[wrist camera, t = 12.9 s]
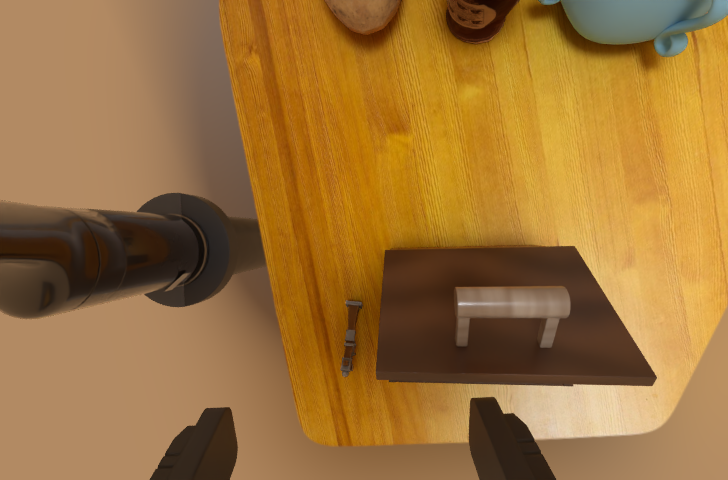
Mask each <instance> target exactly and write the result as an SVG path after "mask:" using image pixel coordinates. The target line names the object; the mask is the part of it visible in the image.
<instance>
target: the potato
mask: <svg viewBox="0 0 728 480" xmlns="http://www.w3.org/2000/svg"><path fill="white" fill-rule="evenodd" d="M325 2H326V3H327V5H328V6H329V8H330V9H331V10H332V12H333V13H334V15H335V16H336V17H337V18H338V19H339V20H340V21H341V22H342V23H343V24H344V25H345V26H346V27H348V28H349V29H350V30H351V31H353V32H357V33H360V34H364V35H368V34H371V33H374V32H376V31H379V30H382V29H384V27H385V26H386V25H387V24H388V23H389V21H390V20H391V19H392V18H393V17H394V15H395V14H396V13H397V10H398V7H399V5H400V2H401V0H325Z"/></svg>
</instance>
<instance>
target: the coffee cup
mask: <svg viewBox="0 0 728 480" xmlns="http://www.w3.org/2000/svg"><path fill="white" fill-rule="evenodd" d="M519 1H520V0H447V4H448V8H447V11H446V19H447V24H448V26H449V28H450V30H451V32H452V33H453V34H454V35H455V36H456V37H457V38H459V39H461V40H463V41H465V42H469V43H475V44H478V43H482V42H488V41H490V40H491V39H492V38H493V37H494V36H495V35H496V34H498V33H499V32H500V30H501V28H502V27H503V25H504V22H505V18H506V15H507V14H508V13H509V12H510V11H511V10H512V9H513V7H514V6H515V5H516V4H517V3H518V2H519Z"/></svg>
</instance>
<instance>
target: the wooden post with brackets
mask: <svg viewBox="0 0 728 480" xmlns="http://www.w3.org/2000/svg"><path fill="white" fill-rule="evenodd" d="M346 306H347V307H348V310H349V314H348V330H346V338H345V341H346V343H345V344H344V346H345V353H344V358H343V357H342V366H341V371H343V372H342V375H343V376H344V377H347V376H348V375H349V372H350V371H353V364H352V359H353V358H351V357H352V356H353V355H356V353H355V347H356V344H354V343H355V333H356V331H355V325H356V320H357V315H358V311H359V308H360V309H362V306H363V305H362V303H361V302H355V301H346Z"/></svg>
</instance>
